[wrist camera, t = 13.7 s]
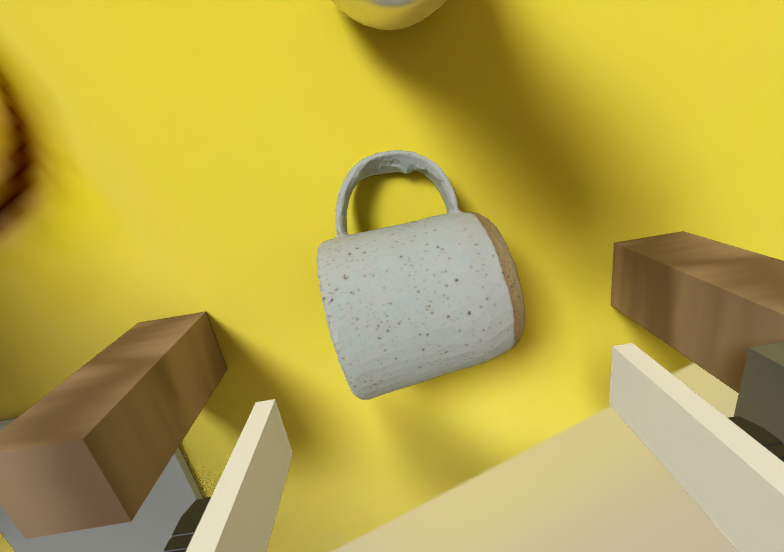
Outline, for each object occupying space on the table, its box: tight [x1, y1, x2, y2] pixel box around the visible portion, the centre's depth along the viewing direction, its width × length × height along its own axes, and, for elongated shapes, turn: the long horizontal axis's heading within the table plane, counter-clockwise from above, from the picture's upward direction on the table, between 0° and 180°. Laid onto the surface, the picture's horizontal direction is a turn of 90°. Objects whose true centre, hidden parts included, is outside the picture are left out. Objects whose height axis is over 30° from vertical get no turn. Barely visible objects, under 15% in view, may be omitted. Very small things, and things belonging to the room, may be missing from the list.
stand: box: [0, 232, 784, 539], centre depth 17 cm, size 32×4×10 cm, turn 99°
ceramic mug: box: [317, 150, 525, 400], centre depth 17 cm, size 11×8×8 cm
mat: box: [0, 418, 203, 552], centre depth 25 cm, size 14×14×1 cm
